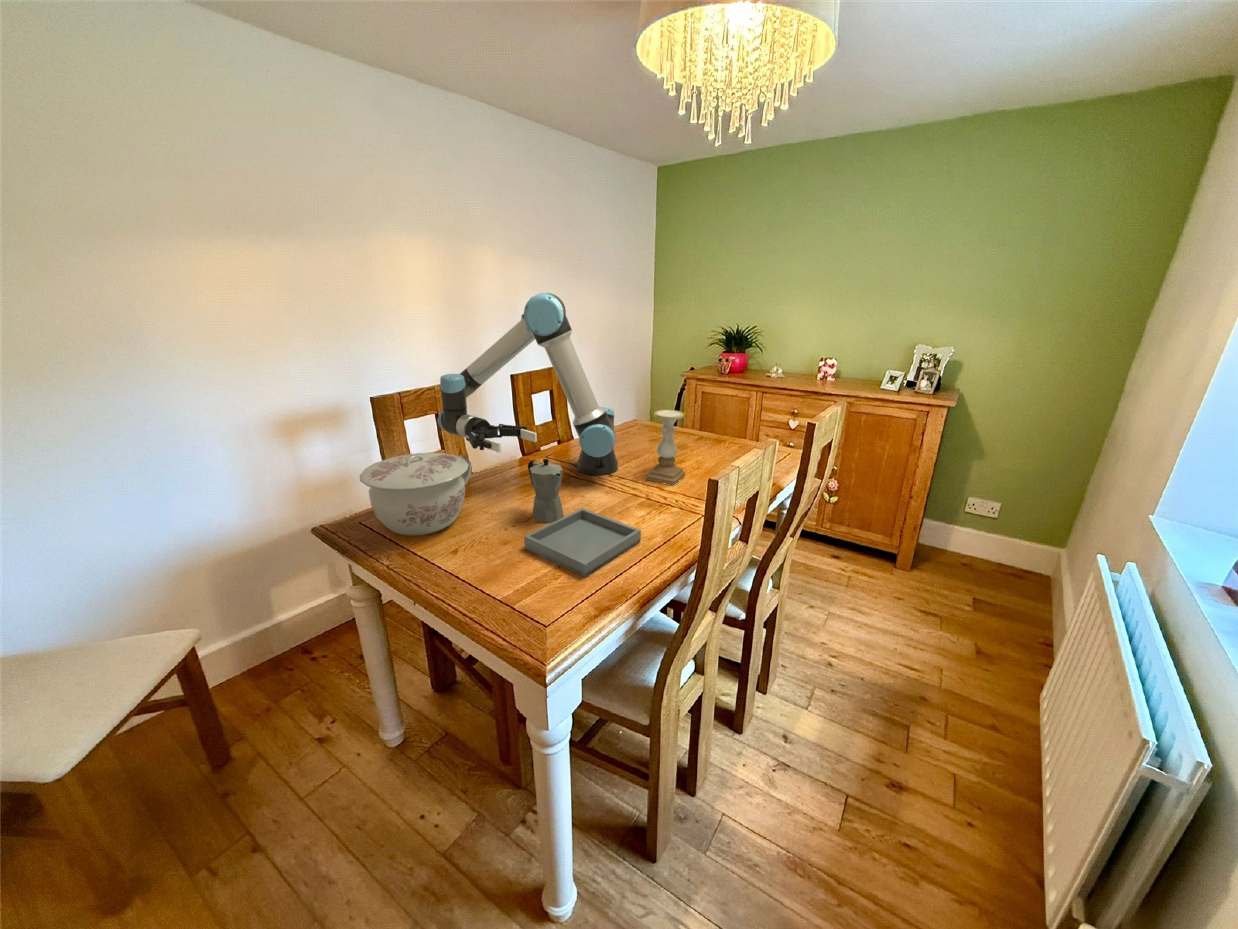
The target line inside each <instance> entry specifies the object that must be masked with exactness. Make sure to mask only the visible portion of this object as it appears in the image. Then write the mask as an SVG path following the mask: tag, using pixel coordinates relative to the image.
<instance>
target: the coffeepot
mask: <svg viewBox="0 0 1238 929" xmlns="http://www.w3.org/2000/svg"><path fill="white" fill-rule="evenodd" d="M549 461H550V460H549V458H543V459H542V462H543V463H540V462H539V461H535V460H530V461H529V462H528V464H527V469H528V473H529V477H530V481H531V485H532V487H533V490H534V493H535V495H534V499H533V508H532V517H533V520H534V521H536V522H538V523H541V524H542V523H543V524H551V523H553V522H555V521H557V520H559V519H561V518H563V517H565V514H564V511H563V510H564V509H563V506H562V501H561V497H560V494H559V493H560V491H561V485H562V478H563V471H564V470H563V468H562V466H561V465H560V464H556V463H550V462H549Z"/></svg>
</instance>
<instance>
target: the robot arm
mask: <svg viewBox="0 0 1238 929" xmlns="http://www.w3.org/2000/svg"><path fill="white" fill-rule="evenodd" d="M566 312H567V310H566V307H565V304H564V302H563V300H562V299H561V298H560V297H558V296H557V295H556V294H554V293H550V292H549V293H548V292H546V293H545V292H542V293H541V292H540V293H537V294H535V295H533V296H531V297H530V298H529V300H528V301H527V302H526V304H525V306H524V309H523V313H522V315H520V320H519V321H518V322H517V323H516V324H515V325H514V326H512V328H510V329H509V330H508V331H506V333H505V334H503V335H502V336H500V338H499V339H498V340H497V341H496V342H494V343H493V344H492V345H491V346H489V348H488V349H486V350H485V351H484V352H483V353H482V354H481V355H480V356H478V357H477V358H476V359H475V360H474V361H473V362H472V363H471V364H469V365H468V366H467V367H466V368H465V369H463V370H462V371H461V372H460V373H447V374H443V375H441V376H440V378H439V379H440V381H439V383H440V384H439V388H440V394H441V395H440V396H441V404H442V405H441V406H442V410H441V411H440V412H439V414H438V417H437V424H438V426H439V428H440V429H441V430H443V431H444V432H446V433H448V434H451V435H452V434H453V435H455V436H459V437H462V438H464V439H465V440H466V441H467V442H469V443H470V445H471V448H472V449H474V450H476V449H478V447H479V451H484V450H485V449H488V450H491V451H493V452H496V453H502V442H499V441H496V440H492V439H494V438H495V439H500V438H501V439H502V437H520V438H521V439H523V440H527V441H530V442H533V443H536V442H538V438H537V437H538V435H537V432H534V431H530V430H528V427H527V426H524V425H512V424H511V425H510V424H503V423H499V424H498V425H493V424H490V422H489V421H488V420H487V419H484V418H481V417H479V416H478V417H477V416H474V415H472V414H468V407H467V405H468V404H467V398H469V396H471V395H472V394H474V393H475V392H476V391H477V389H479V388H480V387H481V386H482V385H483V384H484V383H486V382H487V381H488V380H489V379H491V377H493V376H494V375H495V374H496V373H497V372H498V371H500V370H501V369H502V368H504V366H506V365H507V364H508V363H509V362H510V361H512V360H513V359H514V358H516V356H517V355H519V354H520V353H521V352H522V351H523V350H524V349H525V348H527V347H528V346H529V345H530V344H532V343H533V342H534V341H536V344H537V346H539V347H542V348H543V349H545V352H546V354H547V356H548V359H549V361H550V363H551V365H552V367H553V371H554V372H555V375H556V377H557V379H558V382H559V384H560V386H561V388H562V391H563V393H564V395H565V397H566V400H567V402H568V405H569V406H570V409H571V412H572V413H573V415H574V419H573V421H572V424H573V425H572V426H573V427H574V430H575V432H576V433H577V437H578V438H579V439H578V442H579V447H580V448H581V450H580V453H579V456H578V457H579V458H578V460H577V470H578V471H579V472H581V473H583V474H587V475H591V476H604V475H610V474H612V473H615V472H617V471H618V470H619V461H618V459H617V456H616V453H615V449H614V447H615V444H616V439H617V437H616V433H615V411H614V409H613V408H611V407H607V406H606V407H605V406H599V404H598V401H597V399H596V397H595V394H594V391H593V390H592V387H591V384H590V382H589V380H588V378H587V375H586V372H585V370H584V368H583V366H582V363H581V361H580V358H579V356H578V353H577V352H576V349H575V347H574V344H573V342H572V339H571V334H572V333H573V329H572V327H571V325H570V321H569V320H568V317H567V314H566ZM498 433H499V434H498Z"/></svg>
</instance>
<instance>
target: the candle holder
mask: <svg viewBox="0 0 1238 929" xmlns="http://www.w3.org/2000/svg"><path fill="white" fill-rule="evenodd" d="M653 416H654V417H655V418H657V419H660V420H661V423H662V424H663V425H662V428H661V429H660V433H661V435H662V439H661V440H660V442H659V444H658V445H657V447H656V453H657V455H658V456H659V457H658V458H657V462H658V464H656V465H655V466H654V467H652V468H651V469H650V470H649V471H648V473H647V474H646V476H645V481H647V480H649V481H648V482H651V481H654V482H653V483H655V482H658V483H657V484H660V483H666V484H670V485H675V484H676V483H678V482H679V480H680V479H682V478H683V477H684V476H685V477H686V472H685V470H684V469H683V467H681V466H677V465H675V463H676V458H675V457H676V455H677V454H678V447H677V445H676V442H674V438H673V437H674V435H675V434H676V433H677V432H676V429H675V427H674V425H675V423H676V422H677V420H680V419H683V418H684V417H685V413H684V412H682V411H679V410H677V409H676V410H675V409H659V410H656V411H654V413H653ZM685 477H684V478H685ZM684 478H683V479H684ZM683 479H682V480H683ZM679 483H680V482H679ZM679 483H678V484H679ZM670 485H669V486H670ZM676 485H677V484H676ZM676 485H675V486H676Z"/></svg>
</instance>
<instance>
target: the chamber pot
mask: <svg viewBox="0 0 1238 929" xmlns="http://www.w3.org/2000/svg"><path fill="white" fill-rule="evenodd" d="M472 472H473V466H472V462H471V461H470V459H469V457H467V456H465V455H462V454H460V455H459V454H458V456H457V455H455V454H450V453H441V452H440V453H439V452H422V453H421V452H420V453H419V452H416V453H408V454H402V455H399V456H393V457H389V458H386V459H383V460H380V461H377V462H375V463H373V464H371V465H369V466H367V467H365V468H364V469H363V470H362V472H361V473H360V474H359V482H361V483H362V484H364V485H365V486H367V487H369V490H368V496H369V501H370V506H371V508H372V510H373V512H374V515H375V517H376V519H378V520H379V522H381V523H382V524H383V525H384V526H385V527H386V528H387V529H388V530H389V531H391V532H393V533H395V534H397V535H402V536H410V537H415V536H424V535H428V534H433V533H436V532H439V531H442V530H444V529H445V528H447V527H450V525H451V524H452V523H453V522H454V521H455V520H456V519H457V518H458V516H459V514H460V513H461V510H462V509H463V505H464V502H465V497H466V496H465V495H466V485H467V484H468V482H469V480H470V479H471V478H470V477H471V475H472Z"/></svg>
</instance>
